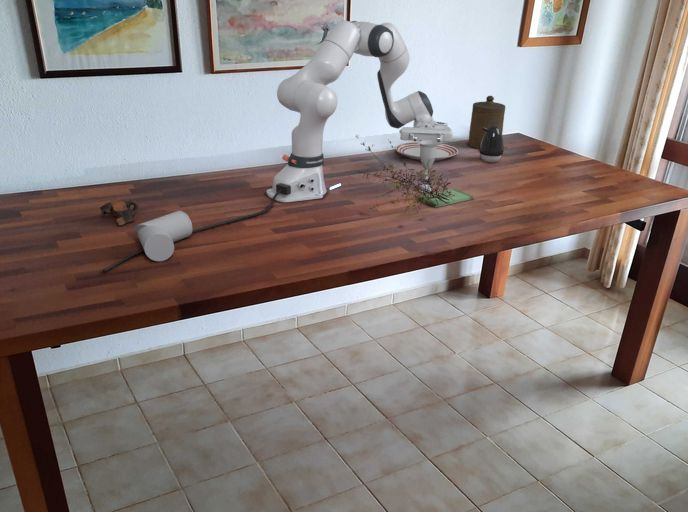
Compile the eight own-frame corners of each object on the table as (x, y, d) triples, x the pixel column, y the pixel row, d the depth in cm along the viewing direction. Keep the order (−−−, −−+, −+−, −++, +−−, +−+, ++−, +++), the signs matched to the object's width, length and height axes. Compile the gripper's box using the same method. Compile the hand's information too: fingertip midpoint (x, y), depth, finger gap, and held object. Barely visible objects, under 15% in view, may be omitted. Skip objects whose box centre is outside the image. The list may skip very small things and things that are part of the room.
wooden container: (491, 140, 331) (497, 92, 319) (506, 148, 319) (513, 98, 307) (462, 142, 326) (467, 93, 315) (477, 150, 314) (483, 100, 303)
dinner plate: (397, 145, 318) (398, 138, 316) (457, 149, 315) (458, 142, 314) (392, 162, 295) (392, 154, 293) (457, 167, 292) (458, 159, 290)
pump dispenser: (475, 157, 304) (479, 122, 297) (498, 157, 306) (502, 122, 298) (481, 164, 296) (485, 128, 288) (504, 164, 297) (509, 128, 289)
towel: (435, 207, 248) (435, 204, 248) (417, 199, 255) (417, 196, 255) (472, 199, 257) (472, 195, 257) (454, 191, 264) (454, 188, 264)
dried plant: (450, 150, 248) (346, 103, 223) (497, 183, 225) (386, 135, 200) (410, 225, 260) (307, 188, 235) (450, 264, 237) (341, 228, 212)
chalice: (427, 194, 260) (431, 146, 251) (412, 191, 263) (415, 142, 254) (437, 190, 265) (442, 142, 256) (422, 186, 268) (426, 139, 259)
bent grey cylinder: (127, 235, 215) (138, 260, 200) (131, 202, 211) (141, 225, 195) (185, 239, 223) (199, 264, 208) (189, 208, 219) (204, 230, 203)
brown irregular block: (112, 230, 223) (98, 206, 221) (108, 233, 232) (96, 210, 230) (145, 214, 228) (133, 190, 226) (141, 218, 236) (129, 195, 234)
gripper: (399, 121, 277) (400, 130, 265) (451, 123, 276) (454, 132, 265) (398, 137, 280) (399, 147, 268) (449, 139, 280) (452, 148, 268)
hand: (427, 139), depth 266 cm, fingers open, 8 cm apart
